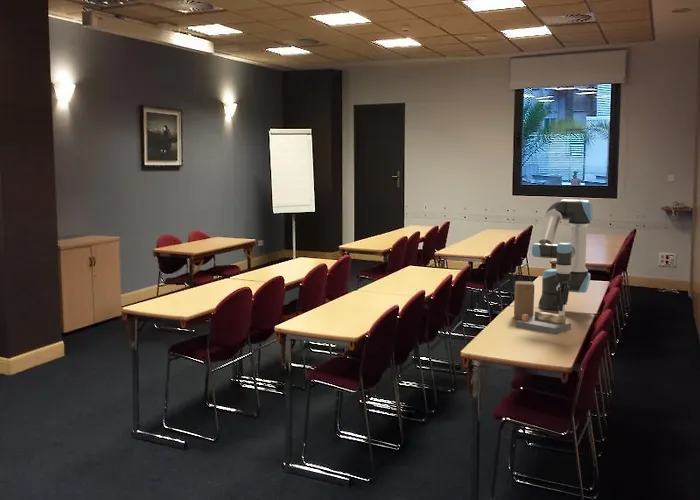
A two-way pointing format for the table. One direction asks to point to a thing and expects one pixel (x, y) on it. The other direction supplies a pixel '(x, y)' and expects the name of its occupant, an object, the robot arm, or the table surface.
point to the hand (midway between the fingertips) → (561, 316)
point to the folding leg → (550, 317)
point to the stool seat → (542, 325)
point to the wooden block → (523, 299)
